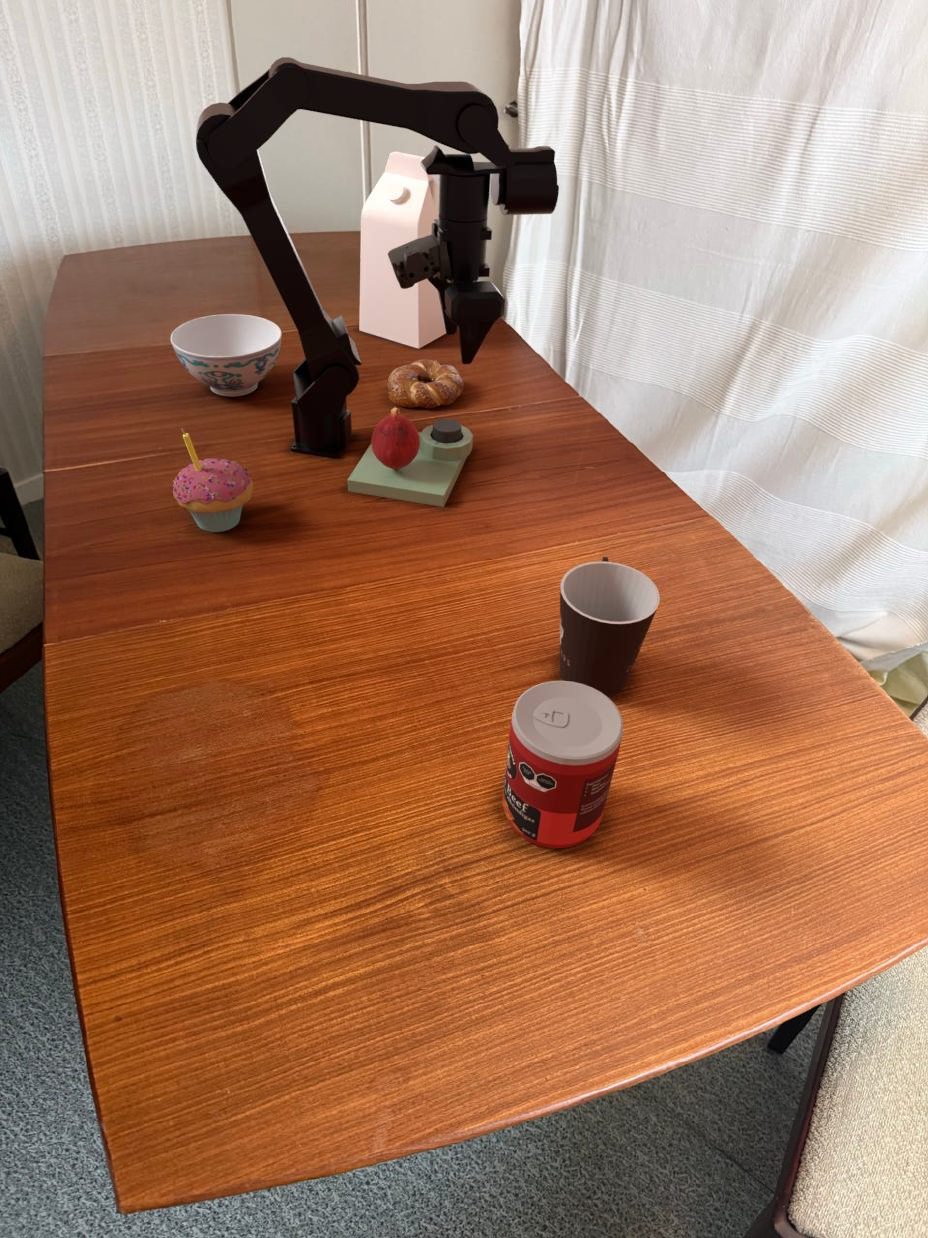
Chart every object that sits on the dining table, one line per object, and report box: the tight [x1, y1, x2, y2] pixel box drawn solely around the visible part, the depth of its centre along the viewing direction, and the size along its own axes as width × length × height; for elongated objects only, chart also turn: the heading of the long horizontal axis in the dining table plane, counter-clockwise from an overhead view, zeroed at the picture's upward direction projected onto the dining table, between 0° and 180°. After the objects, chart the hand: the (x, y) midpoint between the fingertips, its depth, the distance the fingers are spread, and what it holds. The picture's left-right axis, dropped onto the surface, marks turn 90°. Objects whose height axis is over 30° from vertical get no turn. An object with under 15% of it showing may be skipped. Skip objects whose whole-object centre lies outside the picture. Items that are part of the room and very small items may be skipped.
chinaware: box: [170, 313, 283, 397], centre depth 118 cm, size 15×15×8 cm
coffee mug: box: [559, 556, 661, 698], centre depth 76 cm, size 12×9×10 cm
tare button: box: [432, 418, 462, 444], centre depth 105 cm, size 4×4×2 cm
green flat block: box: [347, 424, 474, 508], centre depth 104 cm, size 13×14×4 cm
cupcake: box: [171, 427, 255, 533], centre depth 91 cm, size 9×8×12 cm
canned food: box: [501, 680, 624, 849], centre depth 63 cm, size 8×8×11 cm
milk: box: [358, 151, 447, 349], centre depth 131 cm, size 12×12×26 cm
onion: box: [370, 407, 420, 470], centre depth 99 cm, size 6×6×8 cm
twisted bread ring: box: [387, 358, 465, 410], centre depth 120 cm, size 12×11×4 cm
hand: (458, 348), depth 105 cm, fingers open, 9 cm apart
